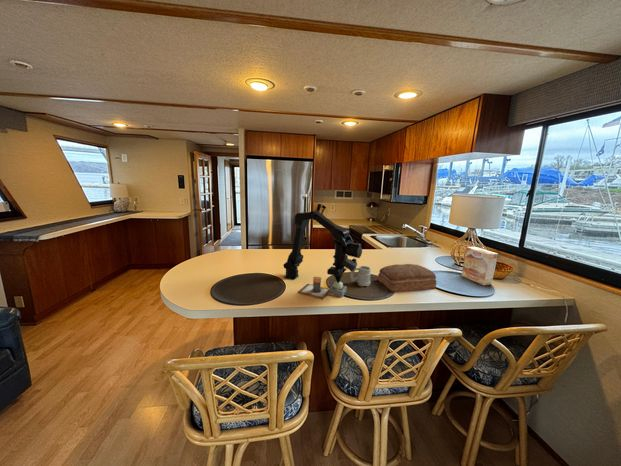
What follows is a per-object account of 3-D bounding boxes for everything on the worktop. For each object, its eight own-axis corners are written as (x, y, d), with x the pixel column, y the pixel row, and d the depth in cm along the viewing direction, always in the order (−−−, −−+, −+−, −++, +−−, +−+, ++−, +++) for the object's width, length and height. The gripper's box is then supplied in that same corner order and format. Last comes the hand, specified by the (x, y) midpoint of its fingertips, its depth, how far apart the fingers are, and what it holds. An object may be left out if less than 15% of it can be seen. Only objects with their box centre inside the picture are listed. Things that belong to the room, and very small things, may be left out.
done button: (332, 290, 125) (333, 283, 124) (335, 287, 128) (336, 280, 128) (340, 292, 123) (341, 285, 122) (343, 289, 127) (343, 282, 126)
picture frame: (297, 292, 124) (297, 291, 124) (307, 284, 134) (307, 283, 134) (322, 299, 118) (322, 297, 118) (331, 290, 128) (331, 289, 128)
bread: (375, 280, 145) (377, 261, 142) (418, 277, 152) (421, 259, 149) (391, 293, 129) (393, 272, 126) (438, 289, 135) (441, 270, 133)
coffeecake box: (460, 275, 156) (466, 246, 152) (469, 274, 158) (474, 246, 154) (483, 285, 142) (490, 253, 138) (492, 284, 145) (498, 253, 140)
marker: (311, 291, 125) (311, 278, 123) (314, 288, 128) (315, 275, 127) (318, 293, 123) (319, 280, 121) (321, 290, 126) (322, 277, 125)
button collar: (329, 293, 124) (329, 288, 124) (333, 288, 130) (334, 283, 130) (342, 297, 121) (342, 291, 121) (346, 291, 127) (346, 286, 127)
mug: (371, 287, 134) (373, 267, 131) (349, 286, 134) (351, 265, 132) (368, 281, 141) (370, 262, 139) (348, 280, 142) (350, 261, 139)
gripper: (350, 261, 110) (347, 293, 113) (361, 251, 126) (358, 279, 129) (327, 257, 114) (325, 288, 118) (340, 248, 131) (338, 275, 134)
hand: (338, 282), depth 125 cm, fingers closed
